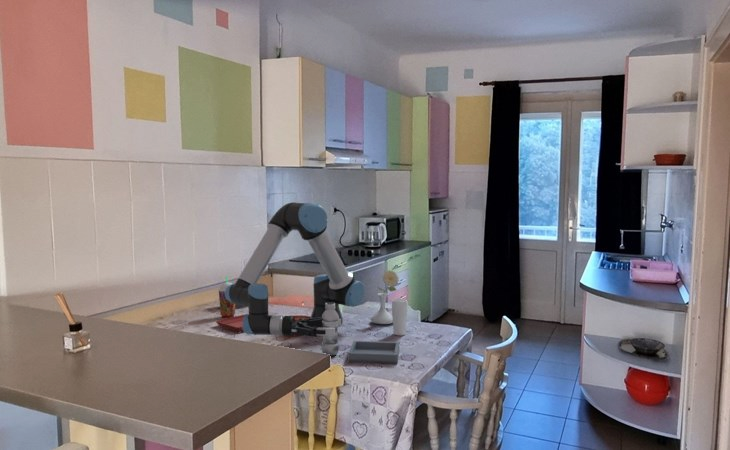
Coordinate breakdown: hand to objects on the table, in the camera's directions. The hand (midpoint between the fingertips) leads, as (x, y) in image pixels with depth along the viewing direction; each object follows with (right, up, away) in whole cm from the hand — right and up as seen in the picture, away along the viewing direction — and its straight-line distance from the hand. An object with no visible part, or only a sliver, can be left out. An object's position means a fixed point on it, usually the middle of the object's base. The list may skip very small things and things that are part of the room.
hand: (337, 327), depth 213 cm
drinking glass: (+25, -9, +30) cm, 40 cm away
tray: (+14, -11, -1) cm, 18 cm away
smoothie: (-57, -6, +60) cm, 83 cm away
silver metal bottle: (-3, -11, +1) cm, 12 cm away
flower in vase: (+19, -7, +49) cm, 53 cm away
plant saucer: (-46, -8, +43) cm, 63 cm away
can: (-57, -4, +84) cm, 101 cm away
